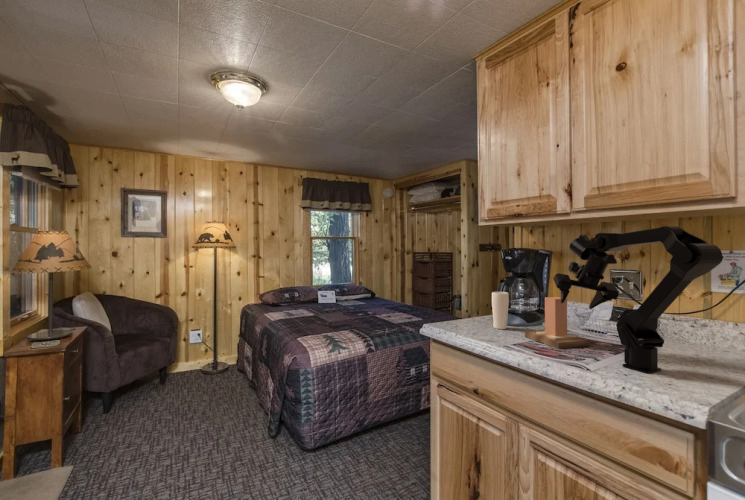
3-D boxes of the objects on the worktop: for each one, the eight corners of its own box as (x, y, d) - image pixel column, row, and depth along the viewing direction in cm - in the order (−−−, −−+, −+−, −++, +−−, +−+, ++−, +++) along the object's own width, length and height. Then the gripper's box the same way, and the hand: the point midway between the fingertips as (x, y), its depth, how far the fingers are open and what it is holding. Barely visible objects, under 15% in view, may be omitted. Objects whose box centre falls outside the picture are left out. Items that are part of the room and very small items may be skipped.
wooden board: (589, 345, 119) (589, 338, 119) (558, 348, 115) (558, 341, 115) (553, 334, 134) (553, 328, 134) (525, 337, 131) (525, 330, 131)
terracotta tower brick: (567, 335, 123) (567, 298, 123) (555, 336, 122) (555, 299, 122) (556, 332, 128) (556, 297, 128) (544, 333, 127) (544, 297, 127)
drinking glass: (488, 327, 148) (488, 292, 148) (501, 326, 150) (501, 291, 150) (498, 330, 141) (498, 293, 142) (512, 329, 143) (512, 293, 144)
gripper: (616, 260, 117) (596, 297, 125) (558, 250, 120) (542, 286, 128) (629, 279, 108) (607, 317, 116) (566, 267, 110) (549, 305, 118)
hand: (575, 305), depth 120 cm, fingers open, 9 cm apart
